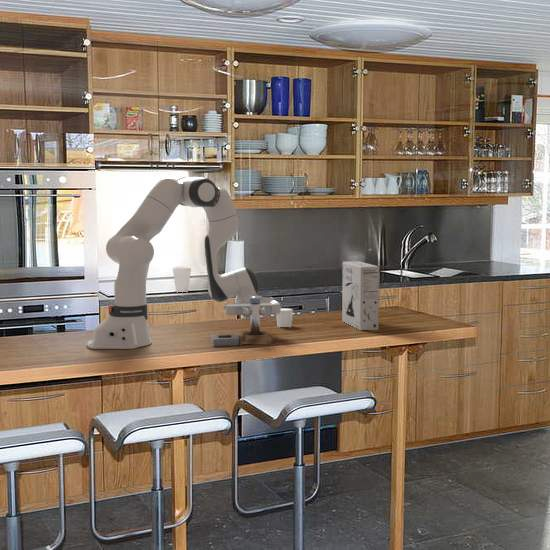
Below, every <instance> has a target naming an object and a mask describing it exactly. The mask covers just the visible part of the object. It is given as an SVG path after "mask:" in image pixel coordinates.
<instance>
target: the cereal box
mask: <svg viewBox="0 0 550 550" xmlns="http://www.w3.org/2000/svg"><path fill="white" fill-rule="evenodd" d="M341 296H342V301H341V302H342V304H341V305H342V306H341V307H342V308H341V310H342V311H341V312H342V313H341V316H342V318H341V320H342V321H343V323H344V322H345V323H344V324H346V323H347V324H346V325H348V324H349V325H348V326H350V325H351V326H350V327H352V326H353V327H352V328H354V327H355V328H354V329H356V328H357V329H356V330H358V329H359V330H358V331H360V330H371V331H378V330H379V315H380V313H379V310H380V309H379V304H380V303H379V301H380V299H379V298H380V297H379V296H380V266H377V265H374V264H371V263H367V262H363V261H359V260H358V261H357V260H356V261H355V260H353V261H343V262H342V294H341ZM342 321H341V322H342ZM377 329H378V330H377Z"/></svg>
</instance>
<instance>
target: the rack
mask: <svg viewBox="0 0 550 550" xmlns="http://www.w3.org/2000/svg"><path fill="white" fill-rule="evenodd" d="M238 338H239V346H243V345H242V344H253V345H273V344H274V343H275V341H274V340H273V339H272V338H271V336H269V335H268V334H267V333H266V331H264V330H263V331H261V330H260V335H251V331H242V336H240V337H239V336H238Z"/></svg>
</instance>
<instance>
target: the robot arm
mask: <svg viewBox="0 0 550 550" xmlns="http://www.w3.org/2000/svg"><path fill="white" fill-rule="evenodd" d="M179 206H185V207H186V206H187V207H191V208H202V209H203V210H204V212H205V213H206V214H205V215H206V219H207V222H208V231H207V234H206V235H205V237H204V254H205V255H204V256H205V263H206V271H207V272H206V273H207V290H208V294H209V296H210V298H211V299H212V300H213V301H216V302H219V303H222V302H224V301H227V300H229V299H231V298H234V297H235V300H234V301H235V302H229V303H226V304H225V306H223V307H222V308H223V310H225V315H226V316H243V317H245V318H247V319H251V316H250V314H251V309H250V297H251V296H259V297H260V317H261V316H268V315H270V316H271V315H276V314H279V313H280V310H281V308H282V307H281V303H280V302H279V301H277V300H276V299H274V297H272V296H265V295H264V296H263V295H258V292H259V283H258V280H257V277H256V276H255V274H254V272H253V271H252V270H251V269H249V267H246V266H244V267H240V268H237V269H234V270H231V271H228V272H225V273H222V274H220V273H219V270H218V259H217V256H218V255H217V254H218V253H219V250H220V249H221V248H222V247H223V246H224V245H226V244H227V243H228V242H229V241H230V240H232V239H233V238H234V237H235V235H236V234H237V233H238V231H239V228H240V227H239V226H240V224H239V218H238V215H237V210H236V208H235V205H234V202H233V200H232V198H231V196H230V194H229V192H228V191H227V190H226V189H225V188H222V187H218V186H217V185H216V184H215V182H213V181H212V180H211V179H209V178H207V177H204V176H200V177H199V176H185V177H181V178H179V179H175V178H172V177H170V176H169V177H167V176H166V177H163V178H161V179H160V180H159V181H158V182H157V183H156V184H154V186H153V187H152V188H151V190H150V191H149V192H148V194H147V195H146V196H145V198H144V199H143V201H142V203H140V205H139V206H138V209H137V210H136V211H135V213H134V214H133V215H132V216H131V218H129V220H127V222H126V223H125V224H124V225H123V226H122V227H121V228H120V229H119V230H118V231H117V232H116V233H115V235H113V236H111V237H110V238H109V239H108V240H107V243H106V246H105V251H106V254H107V256H108V258H109V259H111V261H112V262H114V263H116V264H119V265H118V272H117V276H116V279H115V281H114V304H109V305H108V306H107V307H108V308H107V309H108V315H109V316H107V317H106V318H104V320H102V321H101V322H100V323H98V324H97V326H95V328H94V331H93V336H92V339H89V340H88V341H87V343H86V347H87V348H88V349H92V350H93V349H96V350H99V349H102V350H103V349H104V350H105V349H106V350H107V349H110V350H112V349H113V350H115V349H116V350H117V349H118V350H124V349H125V350H130V349H131V350H132V349H133V350H134V349H137V348H140V347H146V346H149V345H151V344H152V339H151V336H150V331H149V325H148V323H149V322H148V320H149V319H148V318H149V307H148V304H147V279H148V274H149V273H148V272H149V268H150V264H151V262H152V260H153V259H154V256H155V248H154V246H153V244H152V242H151V240H152V239H154V237H156V236H157V235H159V234H160V233H161V232H162V230H163V229H164V227H165V226H166V224H167V223H168V221H169V220H170V218H171V217H172V215H173V214H174V212H175V211H176V209H177V208H178V207H179Z"/></svg>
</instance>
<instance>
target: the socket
mask: <svg viewBox="0 0 550 550" xmlns="http://www.w3.org/2000/svg"><path fill="white" fill-rule="evenodd" d="M210 337H211V338H210V339H211V341H210V342H211V345H212V346H213V347H233V346H234V347H235V346H236V347H237V345H239V346H240V344H239V338H238V337H239V336H238V334H237V333H225V334H223V333H221V334H219V333H218V334H211V336H210Z"/></svg>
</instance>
